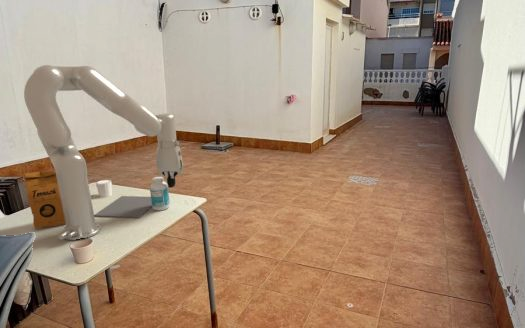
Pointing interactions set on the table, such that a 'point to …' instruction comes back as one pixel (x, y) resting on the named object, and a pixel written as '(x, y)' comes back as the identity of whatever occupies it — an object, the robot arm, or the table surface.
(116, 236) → the table surface
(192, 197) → the table surface
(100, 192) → the white ridged cylinder
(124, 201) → the mat
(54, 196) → the coffee package
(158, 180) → the pill bottle
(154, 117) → the robot arm
